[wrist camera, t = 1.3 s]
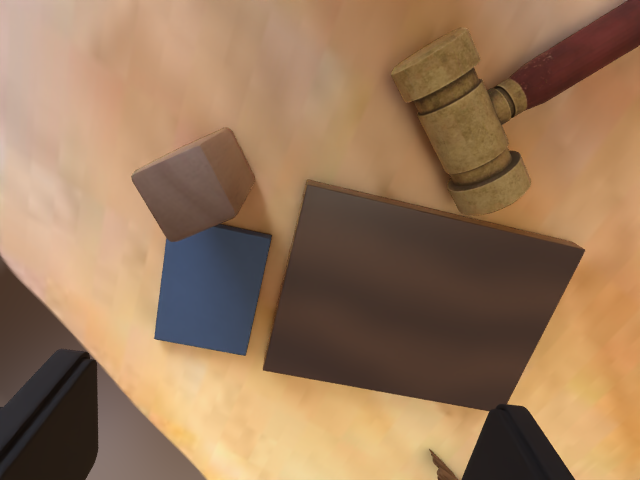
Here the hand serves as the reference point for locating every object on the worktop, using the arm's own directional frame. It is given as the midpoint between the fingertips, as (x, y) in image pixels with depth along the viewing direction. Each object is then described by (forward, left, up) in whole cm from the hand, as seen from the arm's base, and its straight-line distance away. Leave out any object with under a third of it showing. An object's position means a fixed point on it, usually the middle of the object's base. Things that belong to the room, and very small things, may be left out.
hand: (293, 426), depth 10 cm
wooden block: (-1, -6, -20) cm, 21 cm away
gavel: (-13, +14, -20) cm, 28 cm away
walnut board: (+6, +10, -20) cm, 23 cm away
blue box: (+8, -5, -20) cm, 22 cm away
